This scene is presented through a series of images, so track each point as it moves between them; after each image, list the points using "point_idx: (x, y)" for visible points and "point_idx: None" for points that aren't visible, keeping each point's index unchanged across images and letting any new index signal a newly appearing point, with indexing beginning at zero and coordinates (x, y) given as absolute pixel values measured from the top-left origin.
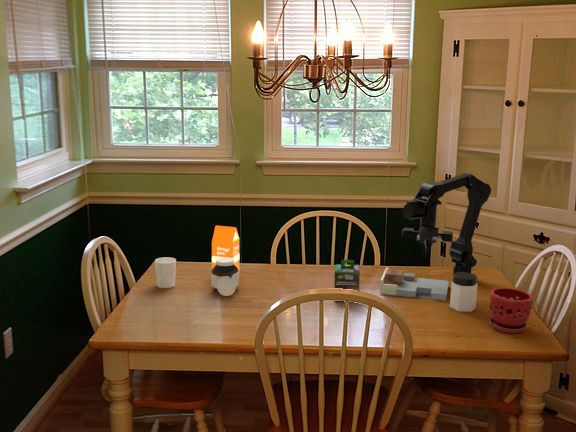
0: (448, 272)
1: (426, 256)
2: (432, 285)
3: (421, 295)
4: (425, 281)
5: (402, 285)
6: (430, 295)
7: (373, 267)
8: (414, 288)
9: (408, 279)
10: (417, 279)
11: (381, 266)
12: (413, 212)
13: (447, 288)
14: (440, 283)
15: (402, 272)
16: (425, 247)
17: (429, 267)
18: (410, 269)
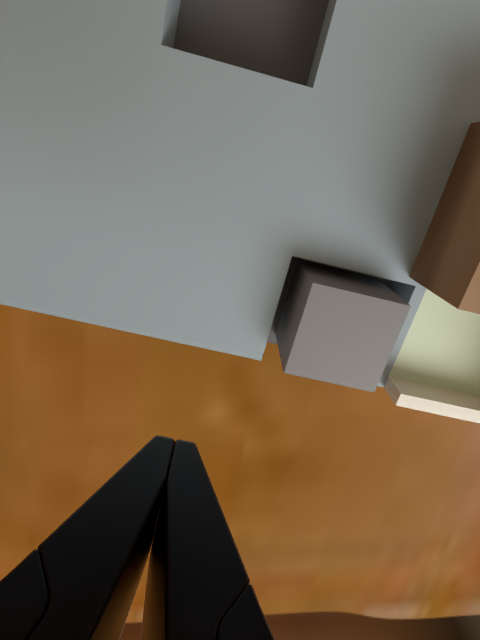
0: (22, 554)
1: (162, 437)
2: (146, 155)
3: (270, 19)
4: (200, 270)
5: (449, 129)
6: (184, 25)
7: (466, 594)
8: (349, 30)
9: (354, 285)
10: (263, 318)
11: (412, 610)
12: None
13: (2, 109)
14: (65, 225)
15: (463, 277)
16: (159, 629)
17: (133, 614)
18: (250, 581)
